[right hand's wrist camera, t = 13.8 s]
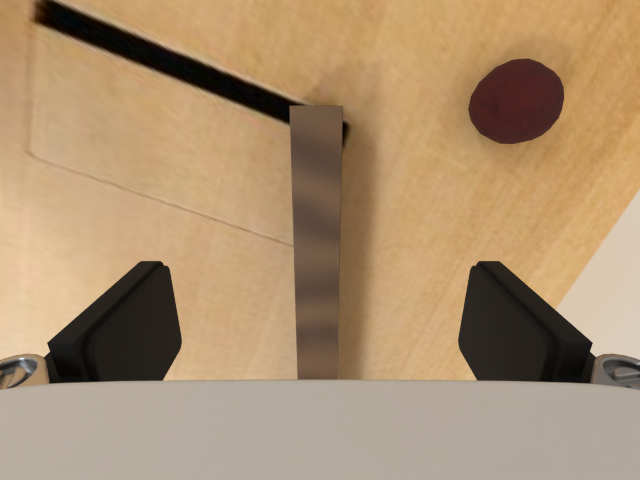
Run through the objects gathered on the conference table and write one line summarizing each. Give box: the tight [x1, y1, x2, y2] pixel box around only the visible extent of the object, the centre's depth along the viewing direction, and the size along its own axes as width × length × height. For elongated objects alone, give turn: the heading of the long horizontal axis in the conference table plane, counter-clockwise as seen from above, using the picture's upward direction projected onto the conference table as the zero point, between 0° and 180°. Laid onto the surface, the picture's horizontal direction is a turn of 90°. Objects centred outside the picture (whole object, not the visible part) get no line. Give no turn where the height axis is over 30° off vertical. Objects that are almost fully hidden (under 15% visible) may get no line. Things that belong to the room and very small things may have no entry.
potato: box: [468, 59, 564, 144], centre depth 33 cm, size 7×8×7 cm
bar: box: [290, 106, 343, 380], centre depth 44 cm, size 61×4×7 cm, turn 0°
